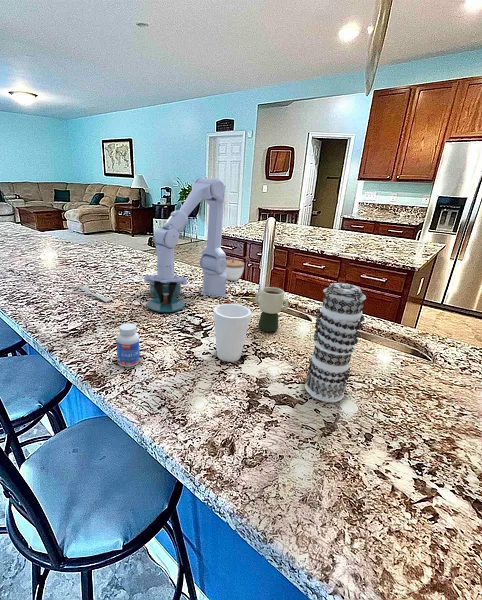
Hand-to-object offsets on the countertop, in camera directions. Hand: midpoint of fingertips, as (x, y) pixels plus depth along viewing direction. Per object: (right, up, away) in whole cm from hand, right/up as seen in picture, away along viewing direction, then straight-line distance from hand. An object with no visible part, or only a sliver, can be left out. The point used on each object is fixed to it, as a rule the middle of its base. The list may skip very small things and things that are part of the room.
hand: (165, 302), depth 113 cm
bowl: (-2, +3, +14) cm, 15 cm away
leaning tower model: (+41, -20, -40) cm, 61 cm away
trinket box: (+26, +11, +38) cm, 47 cm away
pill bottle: (-5, -15, -33) cm, 36 cm away
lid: (0, -1, 0) cm, 1 cm away
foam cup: (+20, -14, -27) cm, 37 cm away
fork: (-29, +2, +9) cm, 31 cm away
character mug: (+34, -9, -11) cm, 37 cm away
